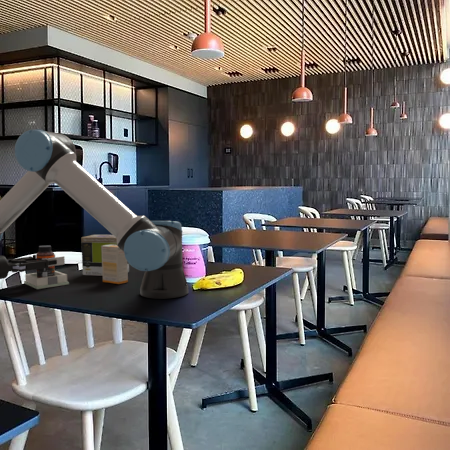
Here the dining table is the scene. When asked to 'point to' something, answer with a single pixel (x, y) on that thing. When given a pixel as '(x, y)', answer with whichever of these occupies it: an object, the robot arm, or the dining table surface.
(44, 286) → the shallow beige box
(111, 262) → the supplement box
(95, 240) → the tea box
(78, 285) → the dining table surface
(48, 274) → the supplement bottle
